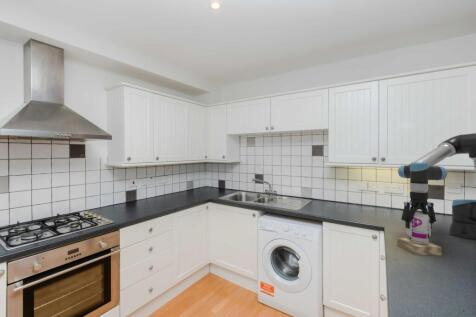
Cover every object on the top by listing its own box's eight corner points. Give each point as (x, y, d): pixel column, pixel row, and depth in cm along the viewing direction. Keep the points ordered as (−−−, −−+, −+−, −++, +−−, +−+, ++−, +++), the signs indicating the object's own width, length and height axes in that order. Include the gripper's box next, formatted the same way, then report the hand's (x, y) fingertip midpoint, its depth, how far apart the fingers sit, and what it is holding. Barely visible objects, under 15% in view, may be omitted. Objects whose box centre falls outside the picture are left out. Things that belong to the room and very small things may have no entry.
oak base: (421, 245, 126) (421, 238, 126) (441, 255, 113) (441, 247, 113) (397, 245, 126) (397, 237, 126) (415, 254, 113) (415, 246, 113)
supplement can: (420, 245, 115) (421, 215, 115) (404, 239, 123) (405, 211, 123) (432, 244, 117) (433, 214, 117) (416, 239, 125) (417, 211, 125)
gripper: (433, 191, 124) (433, 233, 123) (393, 190, 124) (392, 232, 124) (446, 192, 116) (445, 237, 116) (403, 192, 117) (402, 236, 116)
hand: (418, 234), depth 120 cm, fingers open, 9 cm apart
